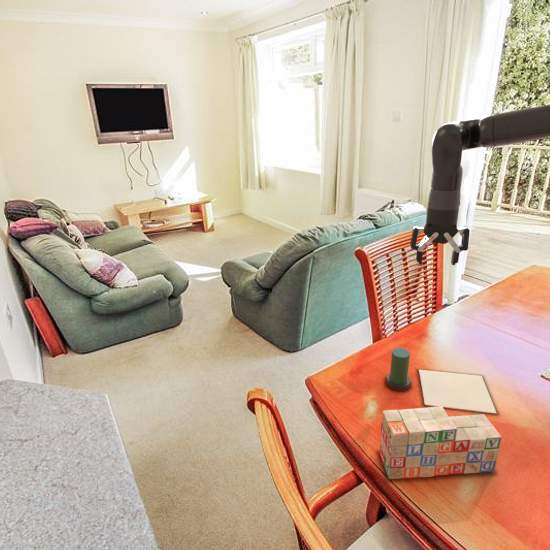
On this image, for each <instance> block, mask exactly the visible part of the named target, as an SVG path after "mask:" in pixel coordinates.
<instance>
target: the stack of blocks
mask: <svg viewBox="0 0 550 550" xmlns="http://www.w3.org/2000/svg"><path fill="white" fill-rule="evenodd" d="M381 418H382V420H381V421H382V422H381V423H380V425H381V426H380V448H379V455H380V458H381V459H380V460H381V461H382V464H383V466H384V468H385V472H386V475H387V479H388V480H396V479H397V480H399V479H416V478H417V479H418V478H430V477H435V476H436V477H437V476H448V475H460V474H464V475H465V474H466V475H467V474H479V473H491V472H495V468H496V464H497V460H498V457H499V453H500V446H501V442H502V436H501V434H500V433H499V431H498V430H497V429H496V428H495V426H494V425H493V424H492V423H491V422H490V419H488V417H487V416H486V414H484V413H482V414H471V415H469V414H465V415H456V416H454V415H452V416H449V415H448V413H447V412H446V409H445V408H444V407H442V406H438V407H436V406H428V407H418V408H417V407H416V408H404V409H388V410H387V409H386V410H385V409H384V410H383V411H382V417H381Z"/></svg>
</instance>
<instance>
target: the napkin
mask: <svg viewBox="0 0 550 550" xmlns="http://www.w3.org/2000/svg"><path fill="white" fill-rule="evenodd" d="M418 374H419V380H420V384H421V385H420V386H421V391H422V396H423V403H424V406H428V407H438V406H442V407H443V408H444V409H452V410H453V409H454V410H460V411H469V412H479V413H486V414H493V415H497V414H498V413H497V411H496V407H495V405H494V403H493V400H492V398H491V396H490V393H489V390H488V388H487V385H486V383H485V381H484V378H483V376H482V375H480V374H479V375H478V374H468V373H457V372H448V371H437V370H427V369H418Z"/></svg>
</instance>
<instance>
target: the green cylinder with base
mask: <svg viewBox="0 0 550 550" xmlns="http://www.w3.org/2000/svg"><path fill="white" fill-rule="evenodd" d="M410 356H411V353H410V351H409V350H408V349H406V348H403V347H395V348H393V349H392V350H391V359H390V371H389V373H388V374H387V375H386V382H385V383H386V385H387V387H389V389H391V390H392V391H396V392H404V391H407V390H409V388H410V387H411V379H410V377H409V366H410V358H411V357H410Z"/></svg>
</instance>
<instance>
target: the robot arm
mask: <svg viewBox="0 0 550 550" xmlns="http://www.w3.org/2000/svg"><path fill="white" fill-rule="evenodd" d="M546 138H550V104H546V105H539V106H534V107H527V108H520V109H516V110H510V111H505V112H500V113H494V114H491V115H487V116H484V117H482V118H474V119H466V120H459V121H453V122H449V123H444V124H443V125H441V126H439V127H438V129H436V131H435V133H434V135H433V138H432V143H431V158H432V159H431V162H432V174H431V179H430V180H431V181H430V190H429V193H428V199H427V200H428V201H427V208H426V209H427V210H426V220H425V225H424V227H422V226H417V225H413V226H412V229H411V230H412V231H411V237H410V244H409V245H410V249H411V250H414V251H416V256H415V260H416V263H418V265H422V264H423V257H424V250H425V248H426V247H428V246H429V245H430V244H431V243H432V244H433V245H438V244H441V245H446V244H448V243H449V245H450V246H451V248H452V253H451V261H450V263H451V266H456V264H458V263H459V259H460V253H461V252H463V251H468V250H469V243H470V231H471V230H470V229H469V227H468V226H462V227H458V219H459V211H460V206H461V198H462V197H461V195H462V194H461V190H462V181H463V174H464V173H463V172H464V169H463V166H462V157H463V151H467V150H472V149H478V148H484V149H485V148H487V149H489V148H497V147H504V146H510V145H517V144H523V143H527V142H533V141H537V140H542V139H546ZM422 233H423V234H424V237H423V238H422V239H421V241H420V242H419V243H418V244H417V242H418V237H419V236H420V235H421V234H422ZM457 234H459V235H460V237H461V244H459V245H458V243H456V241H455V240H454V237H455V236H456V235H457Z"/></svg>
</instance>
